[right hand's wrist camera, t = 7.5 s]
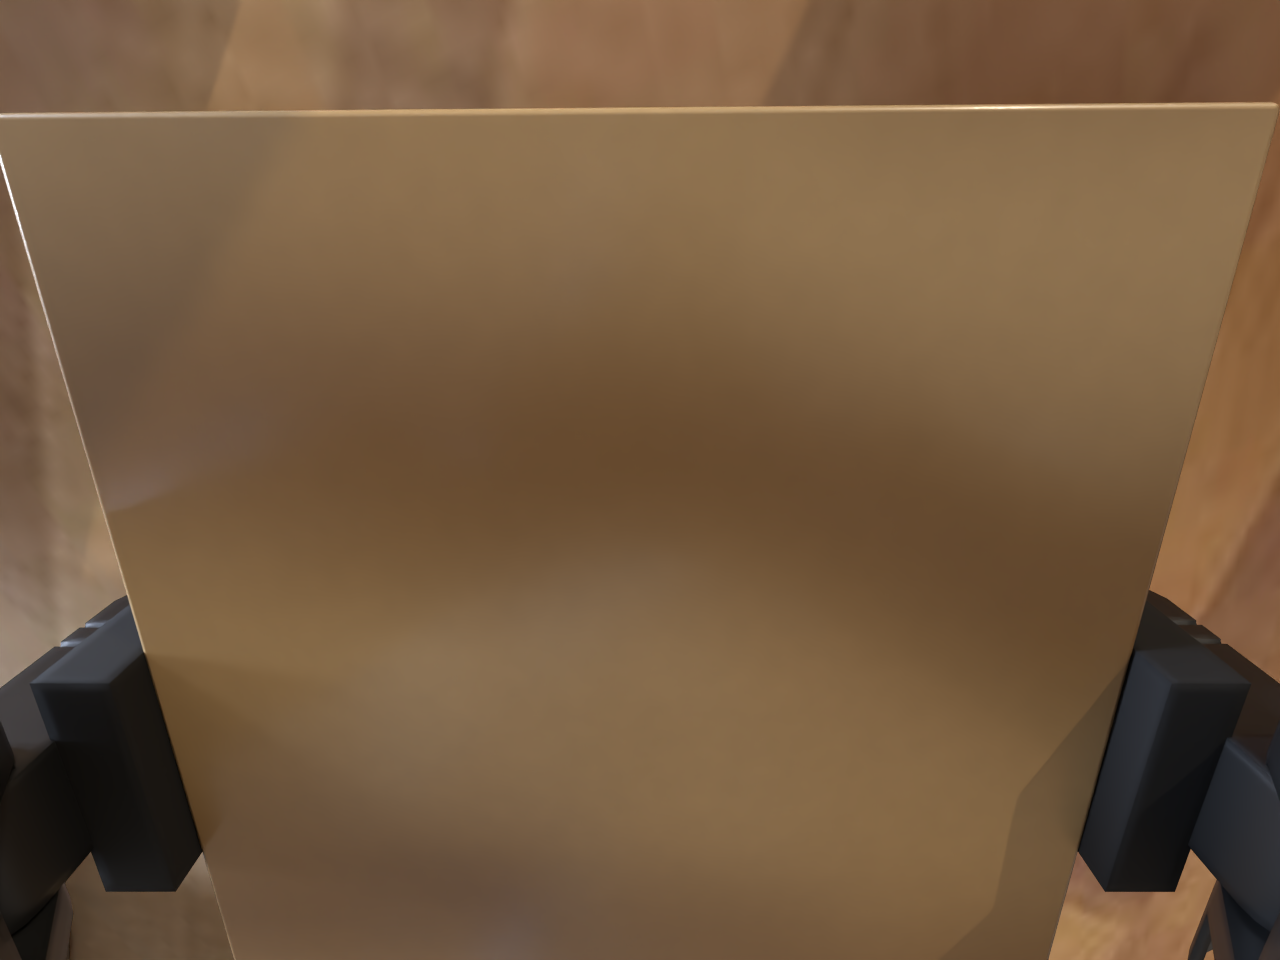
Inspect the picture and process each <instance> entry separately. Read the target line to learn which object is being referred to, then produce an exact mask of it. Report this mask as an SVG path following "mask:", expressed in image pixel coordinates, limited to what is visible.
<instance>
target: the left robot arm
mask: <svg viewBox="0 0 1280 960" xmlns="http://www.w3.org/2000/svg"><path fill="white" fill-rule="evenodd" d="M66 960H69V943H68V949H67V955H66Z"/></svg>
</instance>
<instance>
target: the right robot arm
mask: <svg viewBox="0 0 1280 960" xmlns="http://www.w3.org/2000/svg"><path fill="white" fill-rule="evenodd" d="M85 624H86V626H85V628H79V629H77V630H76V631H75V632H73V633H72V634H71V635H69V636H68V637H67V638H65V639H64V640H63V641H62V642H61V646H60V647H54V648H52V649H51V650H50V651H48V652H47V653H46V654H44V655H43V656H42V657H41V658H39V659H38V660H37V661H35V662H34V663H33V664H31V665H30V666H29V667H27V668H26V669H25V670H23V671H22V672H21V673H20V674H18V675H17V676H16V677H14V678H13V679H12V680H10V681H9V682H8V683H6V684H5V685H4V686H2V687H1V688H0V960H66V955H67V949H68V943H69V937H70V930H71V924H72V918H73V910H72V904H71V898H70V895H69V893H68V890H67V888H66V885H65V881H66V880H67V879H68V878H69V877H70V876H71V874H72V873H73V872H74V871H75V870H76V868H77V867H78V866H79V865H80V864H81V863H82V861H83V860H84V859H85V858H86V857H87V855H88V854H89V853H90V852H92V855H93V858H94V861H95V863H96V866H97V869H98V871H99V874H100V877H101V880H102V882H103V885H104V888H105V890H106V892H176V890H177V889H178V887H179V886H180V884H181V883H182V881H183V880H184V878H185V877H186V875H187V874H188V872H189V871H190V869H191V868H192V866H193V865H194V863H195V862H196V860H197V859H198V857H199V856H200V854H201V853H202V848H201V845H200V842H199V838H198V835H197V831H196V828H195V825H194V821H193V818H192V814H191V811H190V808H189V804H188V801H187V797H186V794H185V791H184V787H183V784H182V780H181V777H180V773H179V770H178V767H177V763H176V760H175V756H174V753H173V750H172V746H171V743H170V739H169V736H168V733H167V729H166V726H165V722H164V719H163V716H162V712H161V709H160V705H159V702H158V699H157V695H156V692H155V688H154V685H153V682H152V678H151V675H150V671H149V668H148V665H147V661H146V658H145V654H144V651H143V648H142V644H141V641H140V637H139V634H138V631H137V627H136V624H135V620H134V617H133V614H132V610H131V607H130V603H129V600H128V596H127V595H126V596H124V597H122V598H120V599H118V600H116V601H114V602H113V603H111V604H110V605H109V606H107V607H106V608H105V609H104V610H102V611H101V612H100V613H98V614H97V615H96V616H94V617H93V618H92V619H90V620H89V621H88V622H86V623H85ZM1190 849H1192V851H1193V852H1194V853H1195V854H1196V855H1197V856H1198V858H1199V859H1200V860H1201V861H1202V862H1203V864H1204V865H1205V866H1206V867H1207V868H1208V869H1209V871H1210V872H1211V873H1212V874H1213V875H1214V876H1215V878H1216V879H1217V880H1216V883H1215V885H1214V888H1213V890H1212V893H1211V895H1210V898H1209V901H1208V903H1207V906H1206V908H1205V911H1204V913H1203V916H1202V918H1201V921H1200V923H1199V926H1198V928H1197V931H1196V934H1195V936H1194V939H1193V941H1192V944H1191V946H1190V950H1189V955H1188V960H1204V957H1205V955H1206V952H1208V951H1210V950H1213V953H1214V959H1215V960H1280V684H1279V683H1278V682H1277V681H1275V680H1274V679H1273V678H1271V677H1270V676H1269V675H1267V674H1266V673H1265V672H1264V671H1262V670H1261V669H1260V668H1258V667H1257V666H1256V665H1254V664H1253V663H1252V662H1250V661H1249V660H1248V659H1246V658H1245V657H1244V656H1242V655H1241V654H1240V653H1238V652H1237V651H1236V650H1234V649H1233V648H1232V647H1230V646H1229V645H1228V644H1221V639H1220V638H1219V637H1217V636H1216V635H1215V634H1213V633H1212V632H1211V631H1209V630H1208V629H1207V628H1205V627H1204V626H1203V625H1197V624H1196V620H1195V619H1193V618H1192V617H1191V616H1189V615H1188V614H1187V613H1185V612H1184V611H1183V610H1181V609H1180V608H1179V607H1177V606H1176V605H1175V604H1174V603H1172V602H1171V601H1170V600H1168V599H1167V598H1165V597H1163V596H1161V595H1158V594H1156V593H1154V592H1152V591H1150V590H1149V591H1148V595H1147V599H1146V602H1145V606H1144V610H1143V613H1142V617H1141V621H1140V624H1139V628H1138V632H1137V635H1136V639H1135V643H1134V646H1133V650H1132V654H1131V657H1130V661H1129V665H1128V668H1127V672H1126V676H1125V679H1124V683H1123V687H1122V690H1121V694H1120V698H1119V701H1118V705H1117V709H1116V712H1115V716H1114V720H1113V723H1112V727H1111V731H1110V734H1109V738H1108V742H1107V745H1106V749H1105V753H1104V756H1103V760H1102V764H1101V767H1100V771H1099V775H1098V778H1097V782H1096V786H1095V789H1094V793H1093V797H1092V800H1091V804H1090V808H1089V811H1088V815H1087V819H1086V822H1085V826H1084V830H1083V833H1082V837H1081V841H1080V844H1079V848H1078V852H1079V854H1080V855H1081V857H1082V858H1083V860H1084V861H1085V862H1086V864H1087V865H1088V867H1089V868H1090V870H1091V871H1092V873H1093V874H1094V876H1095V877H1096V879H1097V880H1098V882H1099V883H1100V885H1101V886H1102V888H1103V889H1104V891H1105V892H1175V890H1176V887H1177V884H1178V882H1179V879H1180V876H1181V873H1182V871H1183V868H1184V865H1185V863H1186V860H1187V857H1188V854H1189V852H1190Z"/></svg>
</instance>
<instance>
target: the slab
mask: <svg viewBox="0 0 1280 960" xmlns="http://www.w3.org/2000/svg"><path fill="white" fill-rule="evenodd" d="M1279 110H1280V108H1279V105H1278V104H1275V103H1273V102H1219V103H1102V104H986V105H869V106H753V107H636V108H520V109H404V110H287V111H171V112H54V113H0V164H1V168H2V171H3V174H4V178H5V181H6V185H7V188H8V191H9V195H10V198H11V202H12V205H13V208H14V212H15V215H16V219H17V222H18V225H19V229H20V232H21V236H22V239H23V242H24V246H25V249H26V253H27V256H28V259H29V263H30V266H31V270H32V273H33V277H34V280H35V283H36V287H37V290H38V294H39V297H40V300H41V304H42V307H43V311H44V314H45V317H46V321H47V324H48V328H49V331H50V334H51V338H52V341H53V345H54V348H55V351H56V355H57V358H58V362H59V365H60V368H61V372H62V375H63V379H64V382H65V385H66V389H67V392H68V396H69V399H70V402H71V406H72V409H73V413H74V416H75V419H76V423H77V426H78V430H79V433H80V437H81V440H82V443H83V447H84V450H85V454H86V457H87V460H88V464H89V467H90V471H91V474H92V477H93V481H94V484H95V488H96V491H97V494H98V498H99V501H100V505H101V508H102V511H103V515H104V518H105V522H106V525H107V528H108V532H109V535H110V539H111V542H112V545H113V549H114V552H115V556H116V559H117V562H118V566H119V569H120V573H121V576H122V579H123V583H124V586H125V590H126V593H127V596H128V600H129V603H130V607H131V610H132V614H133V617H134V620H135V624H136V627H137V631H138V634H139V637H140V641H141V644H142V648H143V651H144V654H145V658H146V661H147V665H148V668H149V671H150V675H151V678H152V682H153V685H154V688H155V692H156V695H157V699H158V702H159V705H160V709H161V712H162V716H163V719H164V722H165V726H166V729H167V733H168V736H169V739H170V743H171V746H172V750H173V753H174V756H175V760H176V763H177V767H178V770H179V773H180V777H181V780H182V784H183V787H184V791H185V794H186V797H187V801H188V804H189V808H190V811H191V814H192V818H193V821H194V825H195V828H196V831H197V835H198V838H199V842H200V845H201V848H202V852H203V855H204V859H205V862H206V865H207V869H208V872H209V876H210V879H211V882H212V886H213V889H214V893H215V896H216V899H217V903H218V906H219V910H220V913H221V916H222V920H223V923H224V927H225V930H226V933H227V937H228V940H229V944H230V947H231V951H232V954H233V957H234V960H1048V958H1049V955H1050V951H1051V947H1052V944H1053V940H1054V936H1055V933H1056V929H1057V925H1058V922H1059V918H1060V914H1061V911H1062V907H1063V903H1064V900H1065V896H1066V892H1067V889H1068V885H1069V881H1070V878H1071V874H1072V870H1073V867H1074V863H1075V859H1076V855H1077V852H1078V848H1079V844H1080V841H1081V837H1082V833H1083V830H1084V826H1085V822H1086V819H1087V815H1088V811H1089V808H1090V804H1091V800H1092V797H1093V793H1094V789H1095V786H1096V782H1097V778H1098V775H1099V771H1100V767H1101V764H1102V760H1103V756H1104V753H1105V749H1106V745H1107V742H1108V738H1109V734H1110V731H1111V727H1112V723H1113V720H1114V716H1115V712H1116V709H1117V705H1118V701H1119V698H1120V694H1121V690H1122V687H1123V683H1124V679H1125V676H1126V672H1127V668H1128V665H1129V661H1130V657H1131V654H1132V650H1133V646H1134V643H1135V639H1136V635H1137V632H1138V628H1139V624H1140V621H1141V617H1142V613H1143V610H1144V606H1145V602H1146V599H1147V595H1148V591H1149V588H1150V584H1151V580H1152V577H1153V573H1154V569H1155V566H1156V562H1157V558H1158V555H1159V551H1160V547H1161V544H1162V540H1163V536H1164V533H1165V529H1166V525H1167V522H1168V518H1169V514H1170V511H1171V507H1172V503H1173V500H1174V496H1175V492H1176V488H1177V485H1178V481H1179V477H1180V474H1181V470H1182V466H1183V463H1184V459H1185V455H1186V452H1187V448H1188V444H1189V441H1190V437H1191V433H1192V430H1193V426H1194V422H1195V419H1196V415H1197V411H1198V408H1199V404H1200V400H1201V397H1202V393H1203V389H1204V386H1205V382H1206V378H1207V375H1208V371H1209V367H1210V364H1211V360H1212V356H1213V353H1214V349H1215V345H1216V342H1217V338H1218V334H1219V331H1220V327H1221V323H1222V320H1223V316H1224V312H1225V309H1226V305H1227V301H1228V298H1229V294H1230V290H1231V287H1232V283H1233V279H1234V276H1235V272H1236V268H1237V265H1238V261H1239V257H1240V254H1241V250H1242V246H1243V243H1244V239H1245V235H1246V232H1247V228H1248V224H1249V221H1250V217H1251V213H1252V210H1253V206H1254V202H1255V199H1256V195H1257V191H1258V188H1259V184H1260V180H1261V177H1262V173H1263V169H1264V166H1265V162H1266V158H1267V155H1268V151H1269V147H1270V144H1271V140H1272V136H1273V133H1274V129H1275V125H1276V121H1277V118H1278V114H1279Z"/></svg>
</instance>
